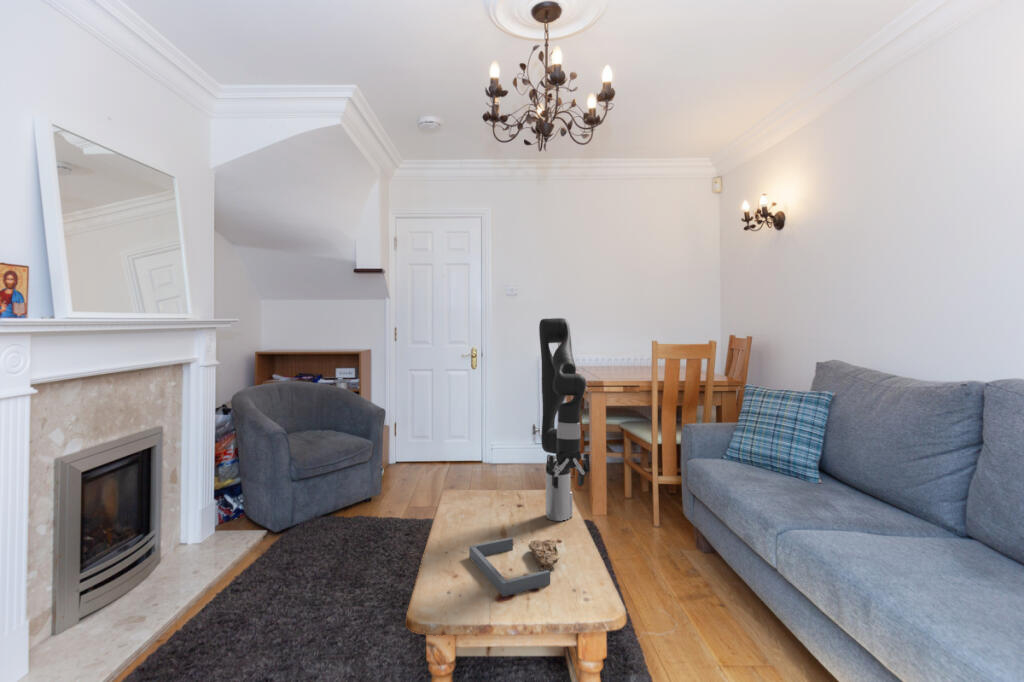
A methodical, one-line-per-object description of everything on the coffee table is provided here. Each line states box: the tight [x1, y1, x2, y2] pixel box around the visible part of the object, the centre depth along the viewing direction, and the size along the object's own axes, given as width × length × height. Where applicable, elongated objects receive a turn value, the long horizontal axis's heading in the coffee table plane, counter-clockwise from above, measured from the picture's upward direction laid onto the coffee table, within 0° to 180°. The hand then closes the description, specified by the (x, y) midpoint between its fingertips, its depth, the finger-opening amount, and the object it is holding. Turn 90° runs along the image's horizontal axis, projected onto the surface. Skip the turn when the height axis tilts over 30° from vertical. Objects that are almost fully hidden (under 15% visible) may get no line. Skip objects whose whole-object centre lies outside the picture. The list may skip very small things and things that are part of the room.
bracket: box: [468, 537, 551, 597], centre depth 141 cm, size 14×25×4 cm, turn 26°
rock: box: [527, 538, 560, 571], centre depth 147 cm, size 17×5×10 cm
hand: (567, 486), depth 153 cm, fingers open, 8 cm apart
